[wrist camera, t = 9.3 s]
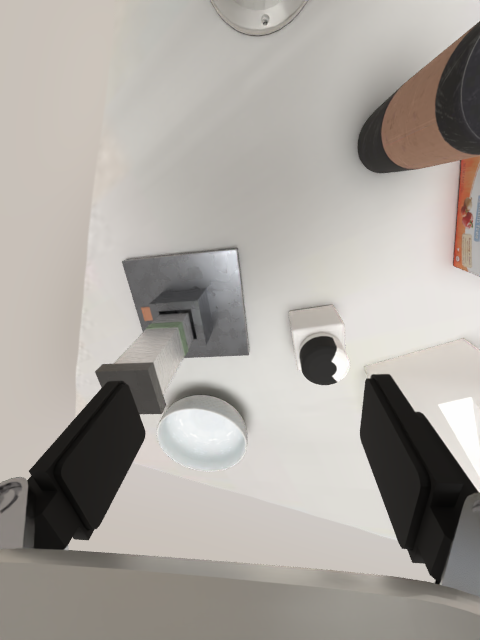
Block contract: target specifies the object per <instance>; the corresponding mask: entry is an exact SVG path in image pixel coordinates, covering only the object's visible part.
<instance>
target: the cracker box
mask: <svg viewBox="0 0 480 640" xmlns="http://www.w3.org/2000/svg"><path fill="white" fill-rule="evenodd" d="M453 265H454V266H455V267H457V268H460V269H462V270H465V271H467V272H469V273H472V274H475V275H477V276H480V156H477V157H473V158H468V159H463V160H461V174H460V186H459V201H458V213H457V226H456V239H455V251H454V264H453Z"/></svg>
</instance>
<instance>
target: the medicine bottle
mask: <svg viewBox="0 0 480 640" xmlns="http://www.w3.org/2000/svg"><path fill="white" fill-rule="evenodd" d="M289 320H290V326H291V333H292V339H293V346H294V353H295V359H296V366H297V370H298V371H302V373H303V375H304V376H305V377H306V378H307V379H308V380H309V381H311V382H313V383H315V384H319V385H330V384H334V383H336V382H338V381H340V380H341V379H343V378H344V377H345V376H346V374H347V373H348V371H349V368H350V360H349V357H348V355H347V353H346V344H345V328H344V323H343V321H342V319H341V318H340V316H339V314H338V312H337V311H336V309H335V307H334V306H333V305H327V306H321V307H314V308H308V309H301V310H294V311H290V312H289Z"/></svg>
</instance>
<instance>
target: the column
mask: <svg viewBox="0 0 480 640" xmlns="http://www.w3.org/2000/svg"><path fill="white" fill-rule="evenodd" d="M193 340H194V337H193V332H192V327H191V323H190V318H189V313H175V314H161V315H159V316H158V317H157V318H156V319H155V320H154V321H153V322H152V323H151V324H150V325H149V326H148V327H147V328H146V330H145V331H144V332H143V333H142V334H141V335H140V336H139V337H138V338H137V339H136V340H135V341H134V342H133V344H132V345H131V346H130V347H129V348H128V349H127V350H126V351H125V352H124V353H123V354H122V355H121V356H120V357H119V358H118V359H117V360H116V362H115V363H114V364H102V365H101V366H100V367H99V368H98V369H97V370H96V371H95V373H96V375H97V377H98V380H99V382H100V385H101V387H103V386H104V385H105V384H106V383H107V382H108V381H124V382H125V383H126V384H128V385H129V387H130V390H131V393H132V396H133V398H134V401H135V404H136V407H137V410H138V412H139V414H162V412H163V410H164V408H165V406H166V403H165V400H164V397H163V395H164V393H165V392H166V390H167V388H168V386H169V384H170V382H171V381H172V379H173V377H174V375H175V373H176V371H177V369H178V368H179V366H180V364H181V362H182V360H183V358H184V357H185V356H186V354H187V352H188V349H189V347H190V345H191V344H192V342H193Z"/></svg>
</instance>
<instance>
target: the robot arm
mask: <svg viewBox="0 0 480 640" xmlns="http://www.w3.org/2000/svg"><path fill="white" fill-rule="evenodd" d="M307 1H308V0H211V2H212V4H213V6H214V7H215V9H216V11H217V12H218V14H219V15H220V16H221V17H222V18H223V19H224V21H225V22H226V23H227V24H229V25H230V26H231V27H233V28H234V29H236V30H237V31H240V32H242V33H245V34H249V35H265V34H270V33H272V32H274V31H277V30H279V29H281V28H282V27H284V26H285V25H287V24H288V23H289V22H290V21H291V20H292V19H293V18H294V17H295V16H296V15H297V14H298V13H299V12H300V11H301V9H302V8H303V7H304V5H305V4H306V2H307ZM264 22H267V23H268V24H267V25H263V23H264ZM360 438H361V442H362V445H363V447H364V450H365V453H366V456H367V458H368V461H369V464H370V466H371V469H372V472H373V474H374V477H375V480H376V483H377V485H378V488H379V491H380V493H381V496H382V499H383V502H384V504H385V507H386V510H387V512H388V515H389V518H390V521H391V523H392V526H393V529H394V531H395V534H396V537H397V540H398V542H399V544H400V546H401V547H402V549H407V550H408V552H409V555H410V557H411V560H412V562H413V563H425V564H426V567H427V569H428V571H429V574H430V575H431V576H432V577H433V578H434V579H435V580H434V583H430V582H426V581H419V580H413V579H406V578H399V577H393V576H383V575H374V574H364V573H354V572H344V571H334V570H323V569H311V568H299V567H286V566H274V565H262V564H250V563H237V562H224V561H211V560H198V559H185V558H172V557H158V556H145V555H130V554H116V553H101V552H86V551H73V550H68V544H69V542H70V540H71V538H72V537H73V538H74V539H79V540H89V538H90V536H91V535H92V533H93V531H94V529H97V528H98V527H99V525H100V524H101V522H102V520H103V518H104V516H105V514H106V512H107V510H108V509H109V507H110V505H111V503H112V501H113V499H114V497H115V495H116V493H117V491H118V489H119V487H120V485H121V484H122V481H123V480H124V478H125V476H126V474H127V471H128V470H129V468H130V466H131V464H132V462H133V460H134V458H135V457H136V455H137V453H138V451H139V449H140V447H141V445H142V443H143V441H144V439H145V429H144V426H143V424H142V421H141V418H140V415H139V412H138V410H137V407H136V404H135V401H134V398H133V396H132V393H131V390H130V387H129V385H128V384H126V383H125V382H124V381H108V382H107V383H106V384H105V385H104V386H103V387H102V388H101V390H100V391H99V392H98V393H97V394H96V395H95V396H94V398H93V399H92V400H91V401H90V402H89V403H88V404H87V405H86V407H85V408H84V409H83V410H82V411H81V412H80V413H79V415H78V416H77V417H76V418H75V419H74V420H73V421H72V423H71V424H70V425H69V426H68V427H67V428H66V429H65V431H64V432H63V433H62V434H61V435H60V436H59V438H57V440H56V441H55V442H54V443H53V444H52V445H51V447H50V448H49V449H48V450H47V451H46V452H45V453H44V454H43V456H42V457H41V458H40V459H39V460H38V461H37V462H36V464H35V465H34V466H33V467H32V468H31V469H30V470H29V472H30V474H31V475H32V476H31V477H30V478H29V479H28V480H26V479H25V478H22V477H16V478H11V479H8V480H6V481H3V482H1V483H0V640H480V493H479V492H478V490H477V489H476V488H475V486H474V485H473V483H472V482H471V480H470V479H469V478H468V476H467V475H466V473H465V472H464V470H463V469H462V468H461V466H460V465H459V463H458V462H457V460H456V459H455V458H454V456H453V455H452V453H451V452H450V451H449V449H448V448H447V446H446V445H445V443H444V442H443V441H442V439H441V438H440V436H439V435H438V433H437V432H436V431H435V429H434V428H433V426H432V425H431V423H430V422H429V421H428V419H427V418H426V417H425V415H424V414H423V413H421V412H415V411H414V409H413V408H412V406H411V405H410V403H409V402H408V400H407V399H406V397H405V396H404V394H403V393H402V391H401V390H400V388H399V387H398V385H397V384H396V382H395V381H394V379H393V378H392V376H391V375H390V374H372V375H371V378H369V379H366V381H365V390H364V399H363V408H362V418H361V427H360Z"/></svg>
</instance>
